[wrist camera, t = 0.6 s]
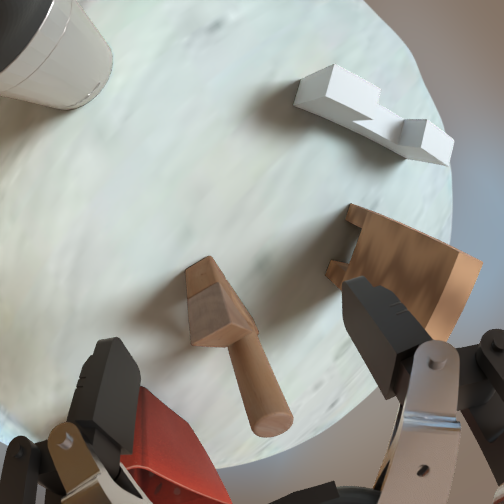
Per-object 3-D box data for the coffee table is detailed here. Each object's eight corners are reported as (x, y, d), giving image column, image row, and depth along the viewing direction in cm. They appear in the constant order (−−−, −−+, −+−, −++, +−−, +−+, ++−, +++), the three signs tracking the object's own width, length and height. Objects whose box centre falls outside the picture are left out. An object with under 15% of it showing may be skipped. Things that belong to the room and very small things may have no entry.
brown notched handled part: (210, 253, 34) (242, 354, 17) (253, 318, 38) (302, 425, 22) (183, 269, 34) (192, 380, 17) (229, 332, 38) (265, 444, 22)
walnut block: (353, 280, 40) (438, 354, 24) (325, 275, 39) (409, 357, 22) (378, 213, 37) (483, 262, 21) (350, 203, 36) (459, 251, 19)
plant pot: (217, 426, 45) (237, 508, 29) (137, 455, 44) (139, 527, 29) (145, 361, 37) (141, 465, 22) (63, 401, 36) (43, 484, 21)
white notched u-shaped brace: (293, 105, 30) (325, 96, 23) (301, 79, 29) (334, 63, 22) (406, 158, 36) (448, 166, 28) (412, 136, 35) (454, 140, 27)
